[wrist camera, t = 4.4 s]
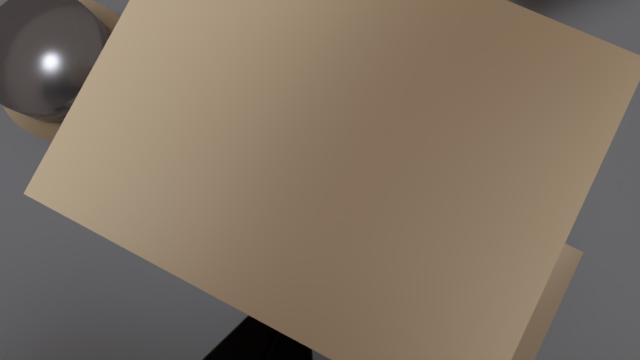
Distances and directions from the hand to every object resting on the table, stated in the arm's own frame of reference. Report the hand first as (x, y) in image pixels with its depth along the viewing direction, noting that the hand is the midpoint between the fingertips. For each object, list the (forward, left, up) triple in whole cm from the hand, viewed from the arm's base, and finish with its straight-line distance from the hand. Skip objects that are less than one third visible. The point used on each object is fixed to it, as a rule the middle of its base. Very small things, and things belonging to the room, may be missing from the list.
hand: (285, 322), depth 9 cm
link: (0, +4, -6) cm, 7 cm away
